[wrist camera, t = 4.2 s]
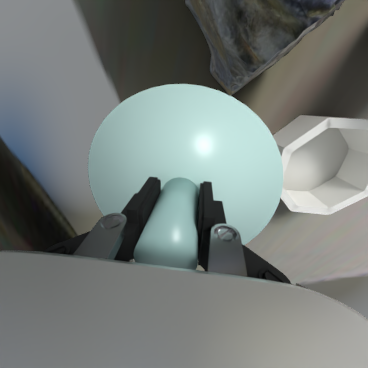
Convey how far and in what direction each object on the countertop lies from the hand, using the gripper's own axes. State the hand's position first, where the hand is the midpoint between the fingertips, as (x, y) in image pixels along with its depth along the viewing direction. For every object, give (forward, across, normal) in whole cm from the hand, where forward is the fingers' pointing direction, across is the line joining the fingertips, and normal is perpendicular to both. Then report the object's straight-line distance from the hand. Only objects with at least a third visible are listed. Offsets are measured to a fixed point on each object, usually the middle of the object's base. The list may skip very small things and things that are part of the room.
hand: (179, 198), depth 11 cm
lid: (+1, 0, 0) cm, 1 cm away
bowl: (+16, -17, +1) cm, 23 cm away
